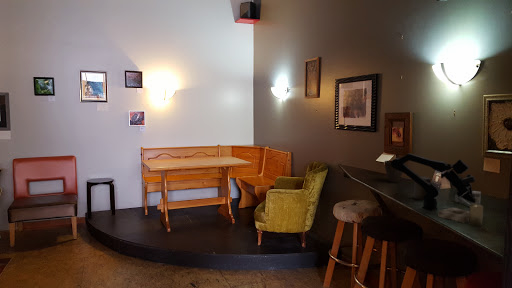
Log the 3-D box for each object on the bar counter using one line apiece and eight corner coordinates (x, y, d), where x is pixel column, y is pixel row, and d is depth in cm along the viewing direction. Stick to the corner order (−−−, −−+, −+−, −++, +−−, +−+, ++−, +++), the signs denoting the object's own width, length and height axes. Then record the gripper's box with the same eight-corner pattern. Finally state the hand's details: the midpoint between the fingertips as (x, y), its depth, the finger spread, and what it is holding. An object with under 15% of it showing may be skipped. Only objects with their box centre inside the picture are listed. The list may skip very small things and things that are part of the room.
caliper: (454, 202, 250) (455, 192, 250) (456, 201, 251) (456, 192, 250) (475, 210, 230) (476, 200, 230) (477, 210, 230) (477, 200, 230)
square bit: (470, 215, 221) (471, 192, 219) (471, 213, 224) (472, 190, 223) (479, 216, 219) (480, 193, 217) (479, 214, 222) (480, 191, 221)
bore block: (438, 216, 218) (438, 211, 218) (451, 212, 226) (452, 207, 226) (463, 222, 207) (464, 217, 206) (477, 218, 215) (477, 212, 214)
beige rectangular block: (466, 224, 204) (467, 205, 203) (472, 222, 208) (473, 203, 207) (478, 227, 200) (479, 207, 199) (484, 225, 203) (485, 206, 202)
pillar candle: (431, 200, 253) (432, 177, 252) (415, 199, 255) (416, 176, 254) (428, 197, 263) (429, 174, 261) (412, 196, 264) (413, 174, 263)
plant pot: (379, 180, 316) (380, 161, 314) (393, 179, 322) (394, 159, 320) (393, 184, 302) (394, 163, 301) (407, 182, 309) (408, 162, 307)
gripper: (464, 173, 214) (486, 195, 209) (467, 168, 229) (488, 188, 225) (447, 185, 219) (469, 207, 214) (452, 180, 235) (472, 200, 230)
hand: (475, 200), depth 221 cm, fingers open, 9 cm apart
